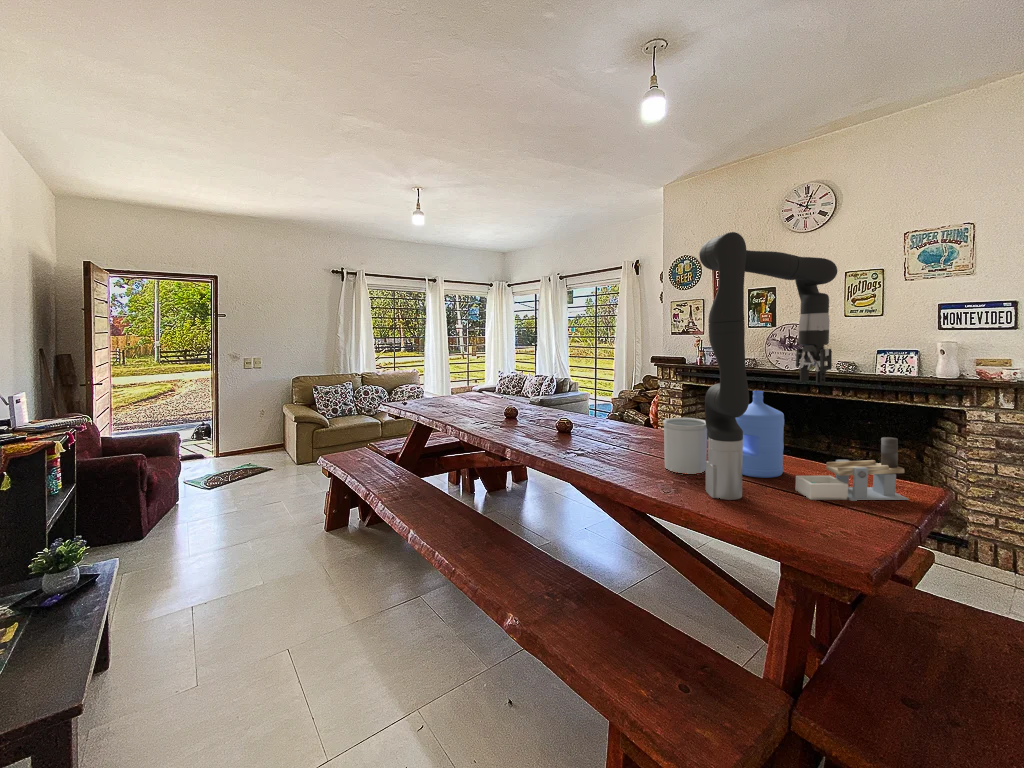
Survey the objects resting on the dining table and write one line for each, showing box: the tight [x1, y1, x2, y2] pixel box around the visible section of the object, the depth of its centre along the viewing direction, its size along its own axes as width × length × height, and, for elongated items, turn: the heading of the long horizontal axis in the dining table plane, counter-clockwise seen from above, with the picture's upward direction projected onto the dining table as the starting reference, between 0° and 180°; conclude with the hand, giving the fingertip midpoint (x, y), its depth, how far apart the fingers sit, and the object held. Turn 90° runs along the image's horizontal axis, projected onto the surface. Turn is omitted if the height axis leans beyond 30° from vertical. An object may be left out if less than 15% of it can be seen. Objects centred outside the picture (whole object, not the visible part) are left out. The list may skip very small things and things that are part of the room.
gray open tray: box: [795, 475, 849, 501], centre depth 128 cm, size 10×8×4 cm
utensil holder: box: [662, 417, 708, 474], centre depth 157 cm, size 15×15×18 cm
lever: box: [825, 436, 905, 476], centre depth 126 cm, size 17×6×9 cm, turn 84°
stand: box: [834, 459, 910, 502], centre depth 127 cm, size 15×10×9 cm, turn 84°
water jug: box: [736, 390, 785, 479], centre depth 151 cm, size 16×16×28 cm
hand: (812, 382), depth 133 cm, fingers open, 8 cm apart
